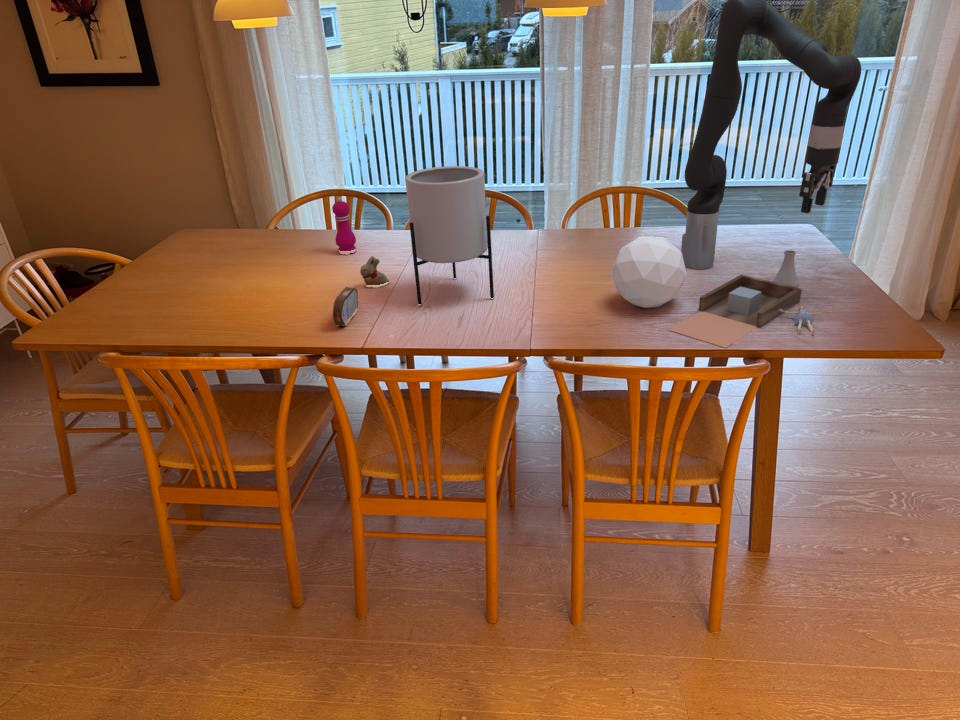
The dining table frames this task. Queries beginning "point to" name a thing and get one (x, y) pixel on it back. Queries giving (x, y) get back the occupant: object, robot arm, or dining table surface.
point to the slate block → (744, 301)
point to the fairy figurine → (803, 318)
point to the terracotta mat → (713, 329)
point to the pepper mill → (343, 226)
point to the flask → (787, 270)
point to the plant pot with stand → (448, 217)
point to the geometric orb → (649, 271)
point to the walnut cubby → (770, 302)
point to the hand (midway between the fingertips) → (812, 208)
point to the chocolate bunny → (372, 273)
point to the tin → (345, 305)
